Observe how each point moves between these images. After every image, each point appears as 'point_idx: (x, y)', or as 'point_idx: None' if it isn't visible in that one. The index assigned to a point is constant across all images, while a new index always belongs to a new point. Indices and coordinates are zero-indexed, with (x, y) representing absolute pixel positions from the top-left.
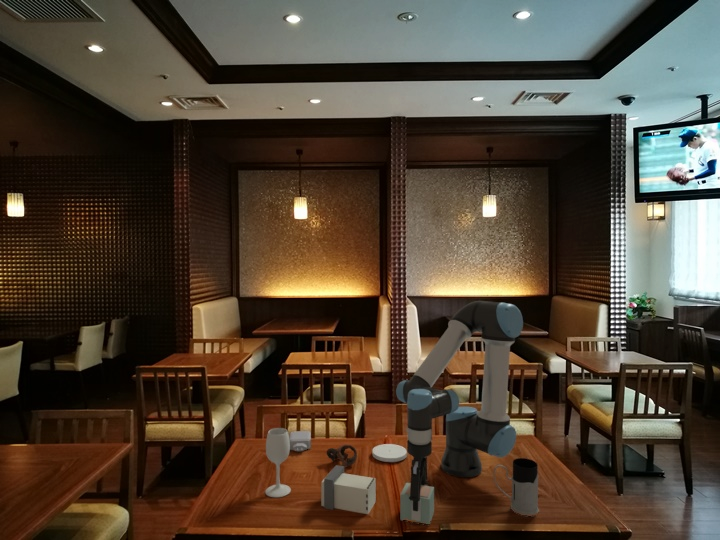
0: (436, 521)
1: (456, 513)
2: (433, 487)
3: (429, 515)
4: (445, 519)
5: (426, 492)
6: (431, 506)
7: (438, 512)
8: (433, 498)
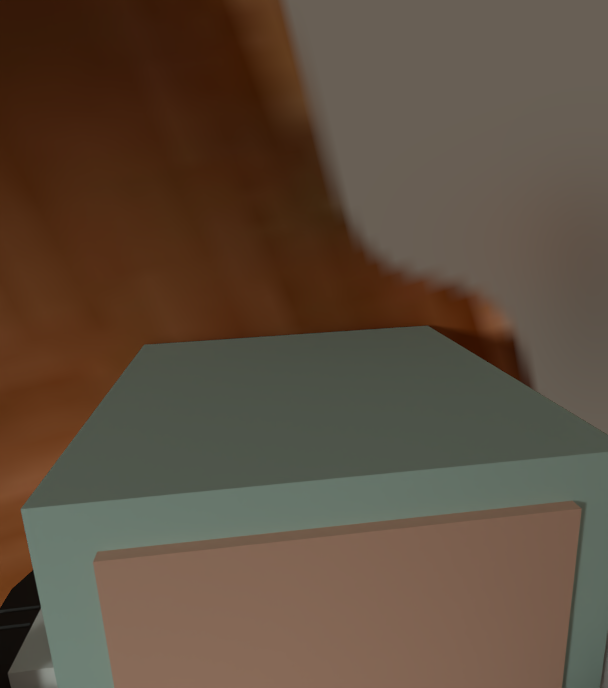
0: (312, 275)
1: (35, 71)
2: (52, 516)
3: (472, 353)
4: (234, 186)
5: (388, 586)
6: (334, 379)
7: (120, 295)
8: (153, 406)
